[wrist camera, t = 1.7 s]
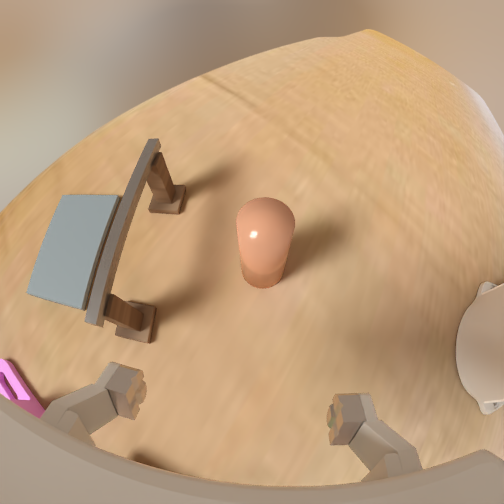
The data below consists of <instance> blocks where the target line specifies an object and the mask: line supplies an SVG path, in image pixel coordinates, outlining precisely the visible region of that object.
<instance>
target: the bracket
mask: <svg viewBox="0 0 504 504" xmlns="http://www.w3.org/2000/svg"><path fill="white" fill-rule="evenodd" d="M4 375H5V376H6V378H7V380H8V381H9V383H10V385H11V386H12V388H13V389H14V391H15V392H16V394H17V396H18V399H15V397H14V396H13V394H12V393H11V391H10V390H9V388H8V386H7V385H6V383H5V380H4ZM0 393H1V394H2V395H3V396H5V397H6V398H8V399H9V400H11V401H12V402H13V403H15V404H16V405H18V406H20V407H21V408H23V409H24V410H26V411H27V412H29V413H31V414H32V415H34V416H36V417H37V418H39V419H40V418H41V416H42V415H43V413H44V412H45V410H44V408H43V407H42V406H41V404H40V403H39V402H38V400H37V399H36V398H35V396H34V395H33V394H32V392H31V391H30V389H29V388H28V387H27V385H26V384H25V382H24V381H23V379H22V378H21V376H20V375H19V373H18V372H17V370H16V368H15V367H14V365H13V364H12V363H11V362H10V361H8V360H3V359H0Z"/></svg>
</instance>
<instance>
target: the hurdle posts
mask: <svg viewBox="0 0 504 504" xmlns="http://www.w3.org/2000/svg"><path fill="white" fill-rule="evenodd" d="M147 183H148V185H149V187H150V189H151V191H152V193H153V197H152V200H151V203H150V206H149V211H150V213H166V214H179V212H180V208H181V205H182V201H183V198H184V195H185V191H186V187H185V185H173V182H172V179H171V177H170V174H169V171H168V169H167V166H166V163H165V160H164V158H163V155H162V152H158V154H157V157H156V159H155V161H154V164H153V166H152V169H151V171H150V173H149V176H148V178H147ZM155 313H156V308H155V307H154V306H148V305H143V304H137V303H132V302H126V301H123V300H122V299H120V298H119V297H117V296H116V295H114V294H110V298H109V302H108V306H107V310H106V315H105V320H107V321H109V322H112V323H114V324H116V325H117V328H116V333H115V335H116V336H119V337H123V338H127V339H132V340H136V341H140V342H145V343H149V344H150V340H151V334H152V329H153V323H154V318H155Z"/></svg>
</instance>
